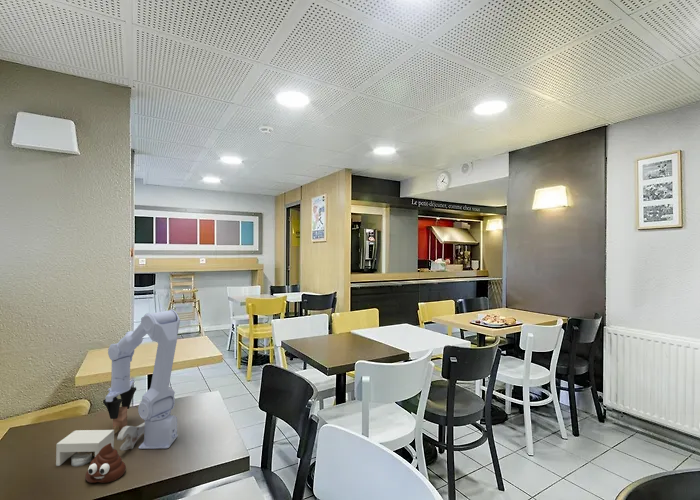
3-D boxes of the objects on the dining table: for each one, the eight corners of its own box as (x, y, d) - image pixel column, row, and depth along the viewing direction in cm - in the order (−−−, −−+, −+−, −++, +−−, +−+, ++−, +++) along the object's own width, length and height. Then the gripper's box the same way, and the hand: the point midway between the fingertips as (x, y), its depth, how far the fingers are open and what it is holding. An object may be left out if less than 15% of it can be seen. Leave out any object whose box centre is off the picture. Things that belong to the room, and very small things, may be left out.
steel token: (95, 457, 113) (95, 450, 113) (84, 466, 108) (84, 460, 108) (78, 457, 112) (78, 451, 112) (67, 467, 107) (67, 460, 107)
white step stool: (113, 449, 116) (114, 429, 116) (98, 464, 108) (98, 443, 108) (74, 450, 116) (75, 430, 116) (56, 465, 108) (56, 443, 108)
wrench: (170, 422, 141) (120, 458, 111) (165, 422, 141) (114, 457, 111) (171, 401, 142) (123, 430, 112) (166, 401, 142) (117, 430, 112)
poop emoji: (131, 467, 108) (132, 436, 108) (114, 486, 99) (114, 452, 99) (97, 467, 107) (98, 436, 107) (76, 486, 99) (77, 452, 99)
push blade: (131, 425, 132) (131, 406, 132) (98, 455, 113) (98, 433, 113) (113, 425, 132) (114, 406, 132) (78, 455, 113) (78, 433, 113)
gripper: (120, 369, 137) (120, 404, 138) (96, 383, 123) (95, 423, 123) (139, 369, 138) (139, 404, 138) (118, 383, 123) (117, 423, 124)
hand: (120, 413), depth 131 cm, fingers open, 7 cm apart
